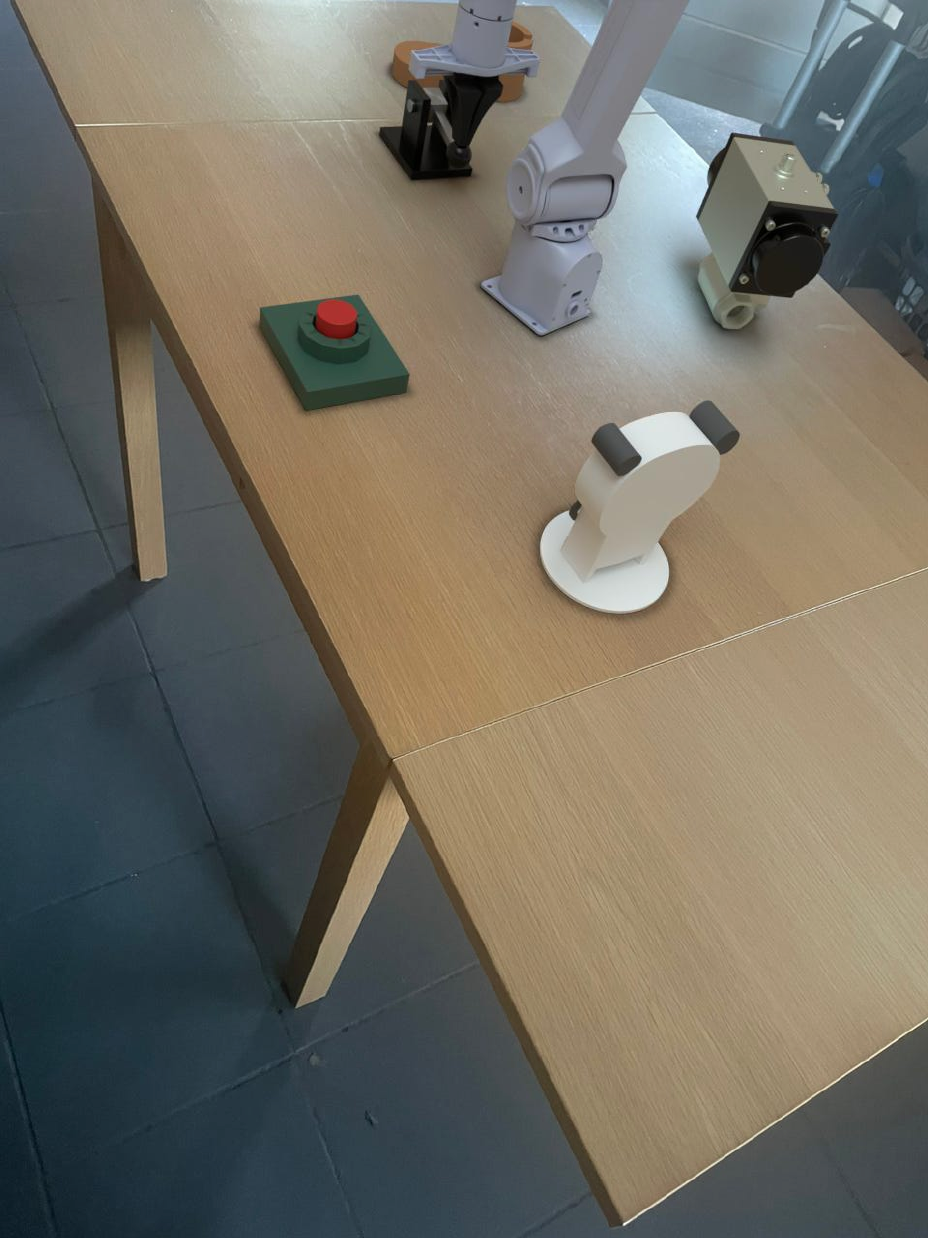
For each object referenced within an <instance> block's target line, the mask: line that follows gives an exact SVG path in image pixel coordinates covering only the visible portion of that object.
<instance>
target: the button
mask: <svg viewBox="0 0 928 1238" xmlns="http://www.w3.org/2000/svg"><path fill="white" fill-rule="evenodd" d="M356 320H357V312H356V310H355V308H354V307H353V306H352V305H350V304H349V303H347V302H344V301H341V300H326V301H323V302H322V303H320V304H319V305H318V307H317V313H316V329H317V331H318V332H319V333H321V334H322V335H324V336H326V337H329V338H334V339H339V340H340V339H346V338H350V337H352V336H353V335H354V333H355V328H356Z"/></svg>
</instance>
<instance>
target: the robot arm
mask: <svg viewBox="0 0 928 1238" xmlns="http://www.w3.org/2000/svg"><path fill="white" fill-rule="evenodd" d="M690 1H691V0H612V1H611V3H610V6H609V7H608V10H607V11H606V14H605V17H604V19H603V21H602V24H601V25H600V28H599V30H598V32H597V35H596V37H595V39H594V42H593V44H592V45H591V48H590V50H589V53H588V55H587V56H586V59H585V61H584V63H583V66H582V69H581V71H580V73H579V75H578V77H577V79H576V81H575V83H574V86H573V89H572V90H571V94H570V95H569V97H568V100H567V102H566V104H565V107H564V109H563V111H562V113H561V116H560V117H558V118H557V119H555V120H554V121H552V122H551V123H549V124H547V125H546V126H544V127H543V128H541V129H538V131H536V132H535V133H533V134H531V135H530V136H529V138H528V141H527V143H526V145H525V147H524V149H523V150H522V152H519V154H518V155H516V156H515V158H514V159H513V161H512V162H511V165H510V166H509V168H508V171H507V175H506V180H505V197H506V203H507V206H508V208H509V212H510V213H511V214H512V217H513V219H514V220H515V222H514V225H513V229H512V232H511V237H510V241H509V244H508V249H507V251H506V257H505V260H504V264H503V268H502V271H501V274H499V275H496V276H494V277H491V278H489V279H486V280H483V281H481V283H480V287H481V289H483V290H484V291H485V292H486V293H488V294H489V295H490V296H491V297H492V298H493V299H495V300H496V301H497V302H499V303H500V304H501V305H502V306H503V307H504V308H506V309H507V310H508V311H509V312H510V313H511V314H513V316H515V317H516V318H517V319H519V321H521V322H522V323H523V324H525V326H527V327H528V328H530V329H531V331H533V332H534V333H535V334H537V336H545V335H546V334H549V333H551V332H553V331H556V330H558V329H561V328H563V327H565V326H568V325H569V324H572V323H574V322H577V321H578V320H581V319H584V318H586V317H588V316H590V314H591V310H590V308H589V306H590V303H591V299H592V297H593V294H594V292H595V288H596V286H597V283H598V280H599V277H600V274H601V271H602V268H603V255H602V254H601V253H600V251H598V249H597V248H596V247H595V245H594V244H593V242H592V240H591V238H590V235H589V232H591V231H592V232H593V231H595V228H596V225H597V222H598V221H599V220H603V219H604V218H606V217H608V216H609V215H610V214H611V212H612V211H613V209H614V207H615V205H616V202H617V199H618V196H619V190H620V184H621V181H622V179H623V176H624V174H625V172H626V171H627V169H628V163H627V159H626V154H625V152H624V149H623V147H622V145H621V143H620V141H619V137H620V136H621V134H622V131H623V129H624V127H625V125H626V124H627V122H628V120H629V118H630V116H631V115H632V112H633V110H634V109H635V106H636V104H637V102H638V101H639V99H640V97H641V94H642V93H643V91H644V89H645V87H646V85H647V84H648V81H649V80H650V77H651V76H652V74H653V72H654V71H655V68H656V66H657V64H658V62H659V60H660V59H661V57H662V55H663V54H664V53H663V52H664V50H665V49H666V47H667V45H668V43H669V41H670V39H671V38H672V36H673V33H674V31H675V29H676V28H677V26H678V24H679V22H680V20H681V18H682V16H683V14H684V12H685V11H686V9H687V7H688V5H689V3H690ZM517 2H518V0H458V5H457V10H456V16H455V23H454V27H453V32H452V33H453V35H452V40H451V42H450V43H444V44H445V45H441V46H437V47H433V48H428V49H423V50H412V51H411V56H410V63H409V71H410V72H411V73H412V75H413V76H414V77H415V78H416V79H424V78H425V76H440V75H443V77H444V80H445V83H446V87H447V91H448V95H449V101H450V107H451V117H452V138H453V139H454V141H455V142H456V143H457V144H458V146H470V145H471V144H472V141H473V139H474V137H475V134H476V132H477V131H478V128H480V125H481V123H482V121H483V119H484V118H485V116H486V114H487V113H488V112H489V110H490V109H491V108H492V106H493V105H494V104H495V103H496V102H497V101H496V100H497V99H498V98H499V97H500V96H501V94H502V91H503V84H502V83H501V82H500V81H499V75H520V74H525V77H527V78H537V75H538V71H539V67H540V63H541V58H540V57H539V56H538V55H537V54H536V53H535V51H533V49H531V50H520V49H514V48H508V47H507V45H508V40H509V36H510V31H511V26H512V22H514V16H515V12H516V7H517ZM470 147H471V146H470Z"/></svg>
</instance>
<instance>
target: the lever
mask: <svg viewBox="0 0 928 1238" xmlns="http://www.w3.org/2000/svg"><path fill="white" fill-rule="evenodd" d="M423 90H424V91H425V92H426V93H427V95H428V96H429V97H430V98H431V105H430V111H429V117H428V123H427V124H432V123H435V124H436V126H437V128H438V130H439V132H440V133H441V135H442V137H443V139H444V141H445V143H446V145H447V149H446V160H447V162H448V164H449V165H450V166H451V167H452V168H454V169H463V168H465V167H467V166H468V164H469V165H470V163H471V161H472V157H473V155H472V154H473V153H472V149H471V146H458V144H457V143H456V142H455V141H454V139H453V138H452V127H451V125H450V124H449V122H448V120H447V118H446V116H445V114H446V110H447V107H448V103H447V101H446V99H445V97H444V95H443V93H442V92H441V90H440V88H423Z"/></svg>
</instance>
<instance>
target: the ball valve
mask: <svg viewBox="0 0 928 1238" xmlns="http://www.w3.org/2000/svg"><path fill="white" fill-rule="evenodd" d="M822 181H823V174H822V173H821V172H814V171H812V170H811V169H810V166H809V165H808V164H807V162H806V160H805V158H804V157H803V156H802V154H801V153H800V151H799V149H798V147H797V146H796V144H795V143H794V141H793V140H787V139H781V138H780V139H779V138H773V137H767V136H759V135H753V134H745V133H739V132H731V133H730V135H729V137H728V139H727V141H726V144H725V146H724V147H723V148H722V149H721V150H720V151H719V152H717V154H716V155H715V156H714V158H713V159H712V160H711V162H710V164H709V166H708V169H707V174H706V182H707V185H708V187H707V188H706V191H705V194H704V196H703V198H702V200H701V203H700V205H699V207H698V210H697V212H696V215H695V218H696V221H697V222H698V225H699V227H700V229H701V231H702V233H703V235H704V238H705V240H706V241H707V245H708V246H709V248H710V250H711V253H710V254H707V256H706V257H704V259H702V260H701V261H700V263H699V264H698V266H699V267H698V268H699V272H698V275H697V281H698V284H699V287H700V289H701V291H702V294H703V296H704V298H705V301H706V302H707V306H708V308H709V309H710V312H711V313H712V316H713V318H714V320H715V322H716V323H718V324H719V325H721V327H722V328H724V329H728V330H740V329H741V328H743V327H744V326H746V325H748V324H749V323H750V321H752V320H753V319H754V318H755V313H759V312H761V311H762V310H764V309H765V308H766V307H767V306H768V304H769V302H770V299H771V297H778V298H786V299H792V298H793V297H794V296H795V294H796V292H798V291H800V290H801V289H803V288H805V287H806V286H808V285H809V284H810V282H812V280H813V279H815V277H816V276H817V275H818V273H819V272H820V270H821V268H822V267H823V266H822V265H823V262H824V257H825V256H826V254H827V252H828V251H829V249H830V247H831V245H832V243H831V242H830V241H829V238H828V236H829V234H830V232H831V229H832V228H833V226H834V224H835V222H836V220H837V218H838V217H839V213H838V212H837V210H836V209H835V207H834V205H833V204H832V203H831V201H830V200H829V197H828V196H829V193H830V185H829V184H827V183H822Z"/></svg>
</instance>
